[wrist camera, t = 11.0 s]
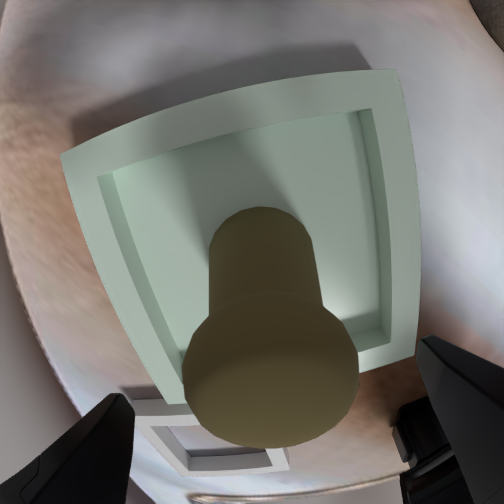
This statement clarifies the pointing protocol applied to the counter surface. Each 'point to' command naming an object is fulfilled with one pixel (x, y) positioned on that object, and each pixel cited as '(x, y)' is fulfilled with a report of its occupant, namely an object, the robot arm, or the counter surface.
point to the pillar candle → (492, 18)
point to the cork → (268, 339)
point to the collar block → (157, 433)
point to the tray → (252, 195)
